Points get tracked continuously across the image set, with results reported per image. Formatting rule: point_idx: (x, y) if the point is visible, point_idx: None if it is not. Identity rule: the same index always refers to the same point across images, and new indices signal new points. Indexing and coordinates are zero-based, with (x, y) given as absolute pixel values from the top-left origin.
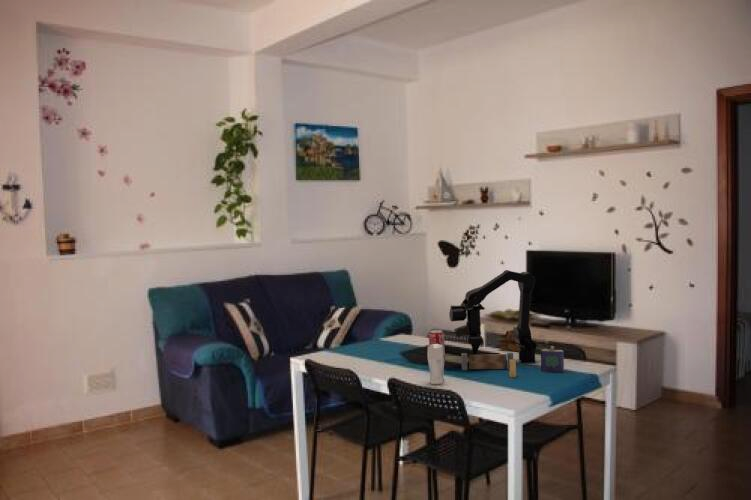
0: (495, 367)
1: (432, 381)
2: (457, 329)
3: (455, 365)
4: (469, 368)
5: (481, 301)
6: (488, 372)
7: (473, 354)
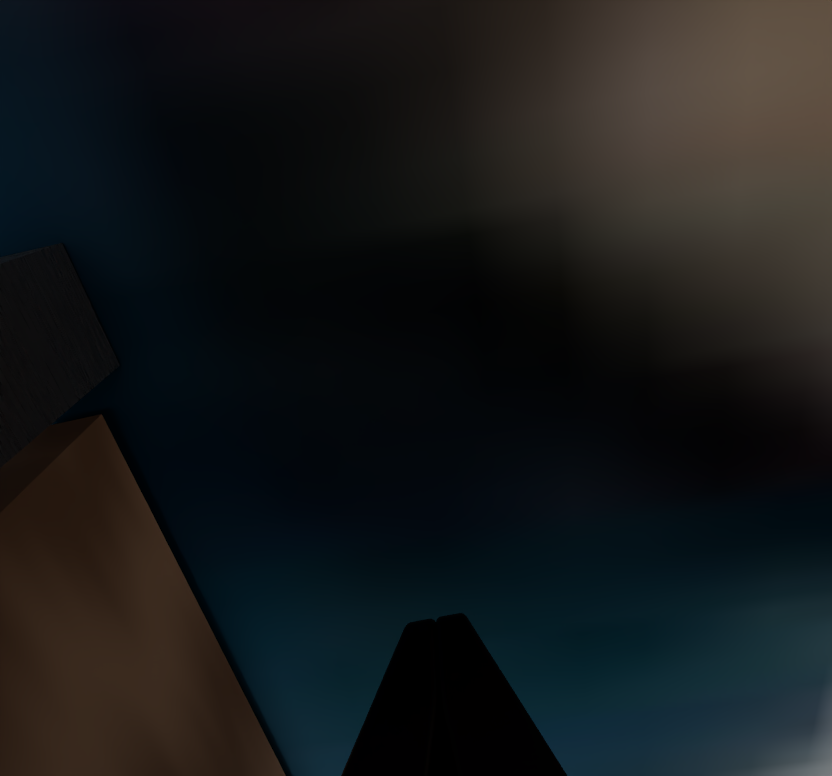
0: None
1: None
2: None
3: (309, 4)
4: (38, 435)
5: None
6: None
7: (403, 633)
